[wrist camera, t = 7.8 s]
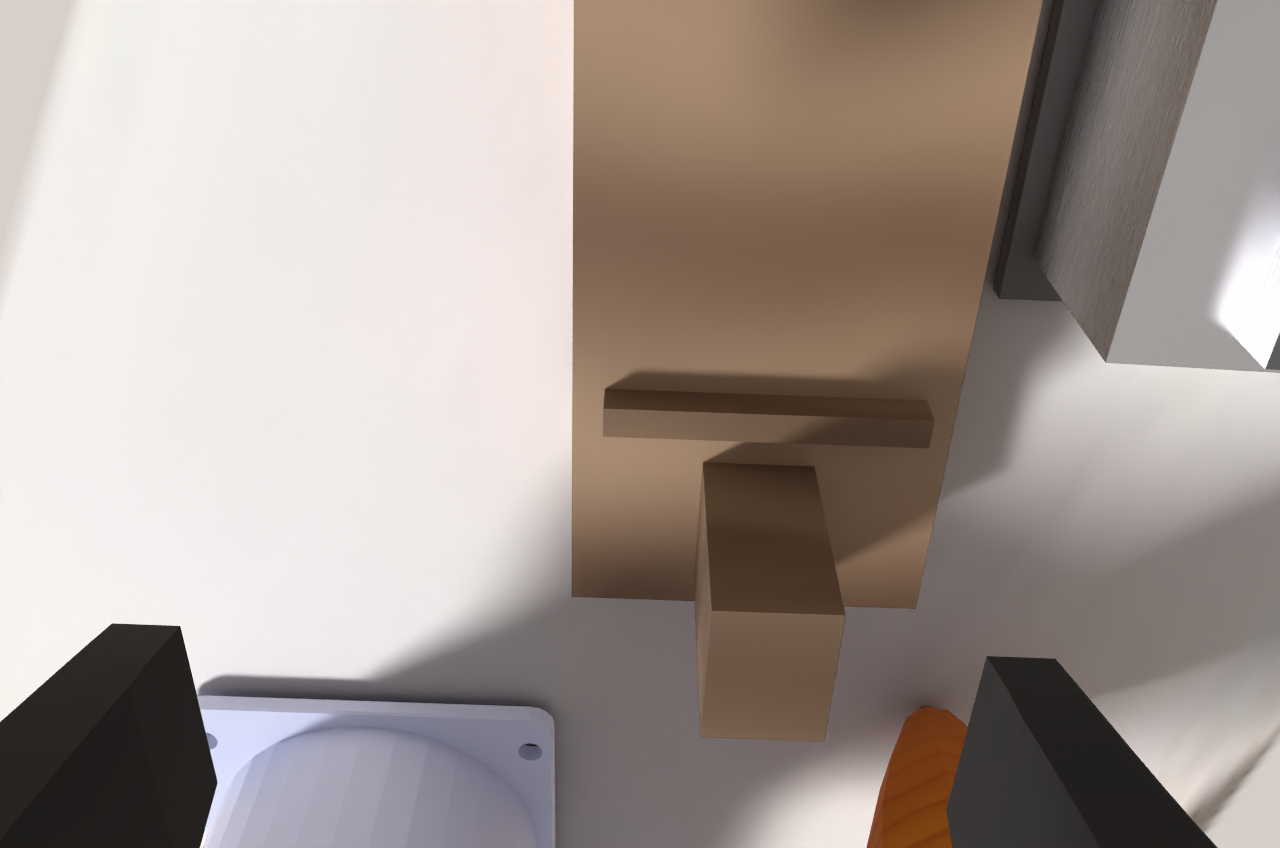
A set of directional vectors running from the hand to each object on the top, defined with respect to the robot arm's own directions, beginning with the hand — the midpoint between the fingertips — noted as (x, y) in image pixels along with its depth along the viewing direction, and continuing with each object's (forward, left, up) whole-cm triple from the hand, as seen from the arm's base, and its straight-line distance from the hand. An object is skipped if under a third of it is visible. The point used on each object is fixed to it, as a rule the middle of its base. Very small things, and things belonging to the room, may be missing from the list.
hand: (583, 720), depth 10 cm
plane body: (+1, -2, -10) cm, 11 cm away
